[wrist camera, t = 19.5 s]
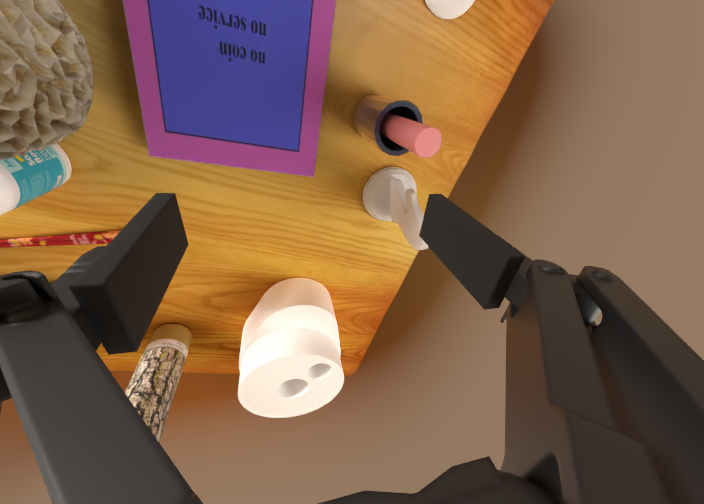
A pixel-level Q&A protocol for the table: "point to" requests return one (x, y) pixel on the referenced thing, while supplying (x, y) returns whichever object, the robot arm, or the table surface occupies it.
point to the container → (290, 351)
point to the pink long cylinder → (411, 135)
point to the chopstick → (62, 239)
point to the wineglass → (448, 7)
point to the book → (232, 79)
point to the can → (371, 116)
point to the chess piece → (395, 202)
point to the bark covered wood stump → (159, 375)
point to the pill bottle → (32, 176)
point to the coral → (41, 76)
